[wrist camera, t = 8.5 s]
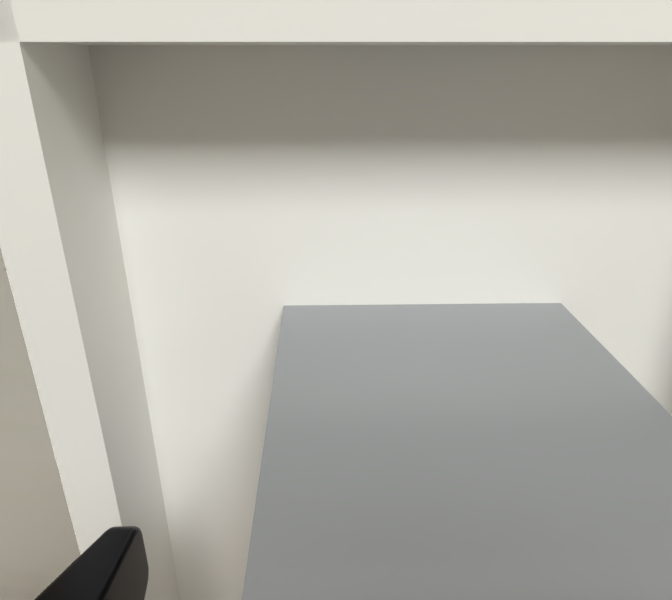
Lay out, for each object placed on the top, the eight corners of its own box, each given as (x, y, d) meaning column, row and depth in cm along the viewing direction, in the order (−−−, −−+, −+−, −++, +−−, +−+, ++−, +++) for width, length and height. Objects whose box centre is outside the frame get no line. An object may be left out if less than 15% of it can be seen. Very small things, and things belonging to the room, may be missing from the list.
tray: (51, -10, 9) (-75, -41, 6) (801, -9, 9) (1017, -37, 6) (169, 632, 15) (135, 764, 12) (612, 620, 15) (679, 746, 12)
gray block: (291, 517, 12) (268, 916, 6) (283, 305, 10) (238, 623, 4) (522, 512, 12) (694, 898, 6) (560, 302, 10) (859, 608, 4)
